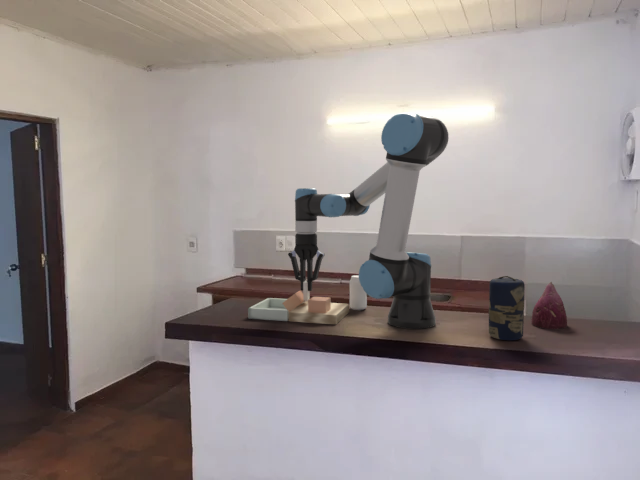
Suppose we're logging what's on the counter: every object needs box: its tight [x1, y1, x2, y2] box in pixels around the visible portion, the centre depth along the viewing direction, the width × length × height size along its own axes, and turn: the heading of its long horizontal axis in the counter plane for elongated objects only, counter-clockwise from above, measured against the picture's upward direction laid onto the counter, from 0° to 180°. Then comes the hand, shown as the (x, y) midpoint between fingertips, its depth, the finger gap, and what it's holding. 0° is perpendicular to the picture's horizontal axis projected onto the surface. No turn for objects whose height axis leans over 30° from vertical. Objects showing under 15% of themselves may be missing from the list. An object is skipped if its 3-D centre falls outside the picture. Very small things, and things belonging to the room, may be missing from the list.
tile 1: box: [308, 296, 332, 313], centre depth 172 cm, size 6×6×4 cm
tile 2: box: [282, 289, 305, 312], centre depth 183 cm, size 6×6×4 cm
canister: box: [488, 275, 526, 341], centre depth 149 cm, size 10×10×18 cm
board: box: [288, 301, 350, 325], centre depth 177 cm, size 16×18×3 cm
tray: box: [247, 297, 305, 322], centre depth 181 cm, size 14×18×4 cm
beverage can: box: [349, 274, 368, 311], centre depth 188 cm, size 6×6×12 cm
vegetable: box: [530, 281, 568, 330], centre depth 165 cm, size 10×10×15 cm
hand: (306, 299), depth 182 cm, fingers closed
